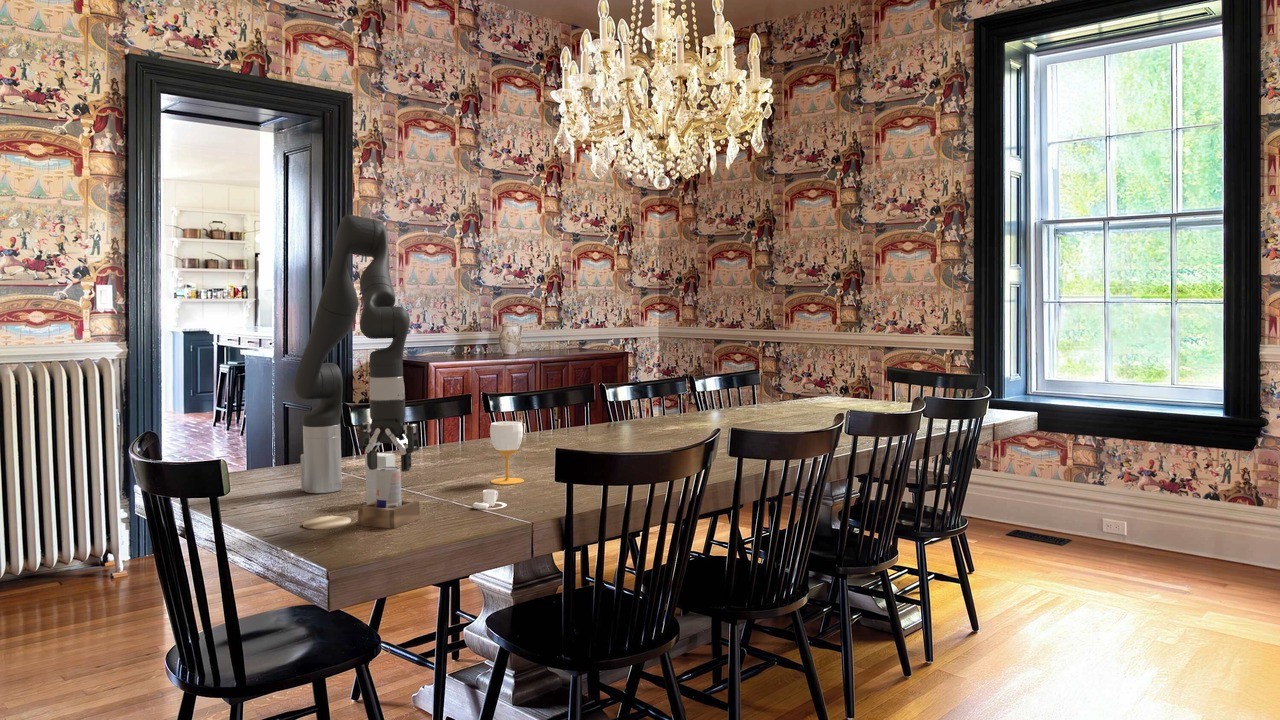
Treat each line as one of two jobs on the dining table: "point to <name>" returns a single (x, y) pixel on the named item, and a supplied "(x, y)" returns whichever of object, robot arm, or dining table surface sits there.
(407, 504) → the walnut holder
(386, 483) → the energy drink
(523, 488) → the dining table surface
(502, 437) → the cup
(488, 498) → the teacup and saucer
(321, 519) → the cork coaster
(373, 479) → the skincare box
